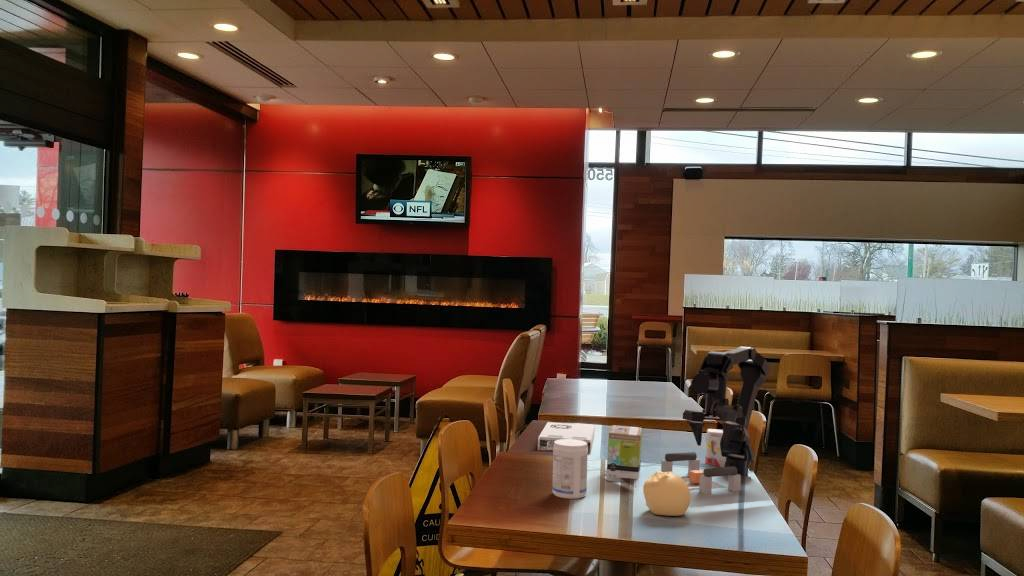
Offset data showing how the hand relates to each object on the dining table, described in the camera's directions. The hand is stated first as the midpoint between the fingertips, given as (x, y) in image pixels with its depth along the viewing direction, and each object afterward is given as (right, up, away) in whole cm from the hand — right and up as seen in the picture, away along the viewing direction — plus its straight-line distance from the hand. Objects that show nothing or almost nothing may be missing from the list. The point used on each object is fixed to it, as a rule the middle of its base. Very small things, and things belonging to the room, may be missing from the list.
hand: (712, 446), depth 218 cm
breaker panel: (-7, -12, -3) cm, 14 cm away
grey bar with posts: (-1, -12, -11) cm, 16 cm away
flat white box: (-39, -12, +57) cm, 70 cm away
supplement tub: (-44, -11, -15) cm, 48 cm away
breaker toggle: (-5, -10, -2) cm, 12 cm away
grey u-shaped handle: (-8, -12, +7) cm, 16 cm away
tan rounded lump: (-20, -11, -29) cm, 37 cm away
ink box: (+10, -13, +28) cm, 32 cm away
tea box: (-25, -11, +8) cm, 29 cm away
